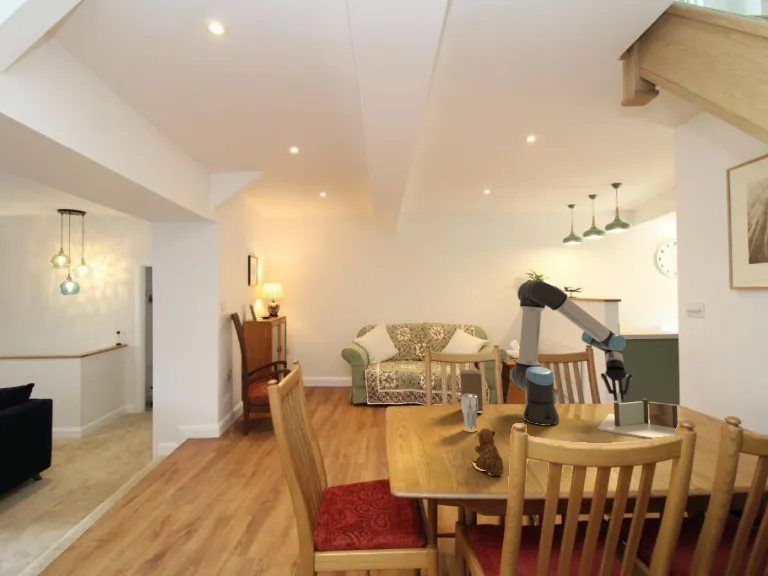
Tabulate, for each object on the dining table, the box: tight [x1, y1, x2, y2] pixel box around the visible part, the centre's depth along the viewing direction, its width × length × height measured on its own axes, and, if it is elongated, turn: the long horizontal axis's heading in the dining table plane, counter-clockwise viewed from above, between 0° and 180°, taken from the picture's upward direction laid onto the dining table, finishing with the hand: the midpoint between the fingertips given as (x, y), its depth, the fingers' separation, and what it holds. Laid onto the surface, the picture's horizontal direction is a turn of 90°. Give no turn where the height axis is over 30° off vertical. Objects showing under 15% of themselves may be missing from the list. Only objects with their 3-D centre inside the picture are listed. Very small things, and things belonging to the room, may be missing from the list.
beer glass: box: [460, 394, 478, 429], centre depth 169 cm, size 7×7×15 cm
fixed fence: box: [641, 398, 679, 428], centre depth 165 cm, size 12×2×11 cm, turn 50°
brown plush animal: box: [472, 428, 504, 476], centre depth 130 cm, size 10×14×13 cm
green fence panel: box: [613, 400, 644, 426], centre depth 167 cm, size 14×2×10 cm, turn 101°
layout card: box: [597, 413, 676, 440], centre depth 165 cm, size 27×24×1 cm
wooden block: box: [460, 369, 484, 411], centre depth 195 cm, size 10×10×20 cm
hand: (619, 407), depth 174 cm, fingers closed
